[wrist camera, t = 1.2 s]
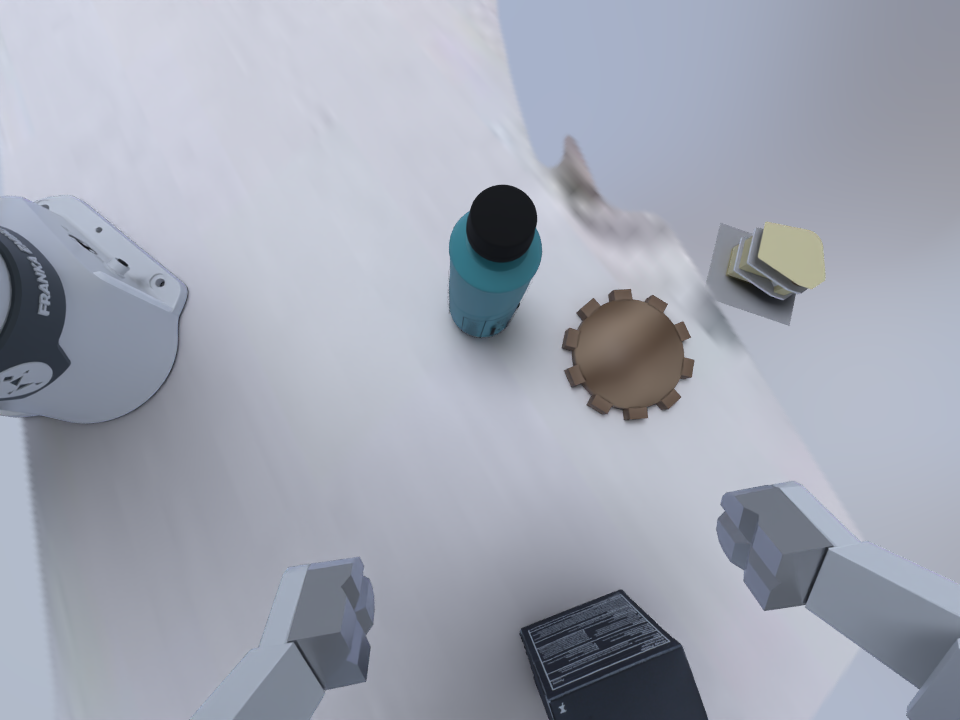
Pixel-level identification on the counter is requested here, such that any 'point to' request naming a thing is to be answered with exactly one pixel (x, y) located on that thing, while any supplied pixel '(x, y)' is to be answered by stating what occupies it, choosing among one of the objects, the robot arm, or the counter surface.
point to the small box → (610, 665)
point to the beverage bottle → (492, 260)
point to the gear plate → (628, 354)
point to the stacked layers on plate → (765, 268)
